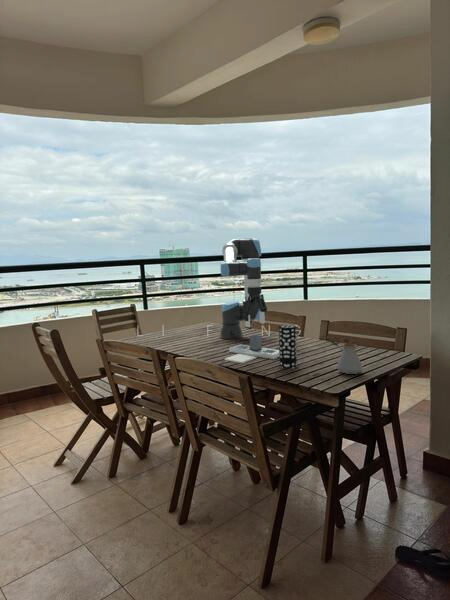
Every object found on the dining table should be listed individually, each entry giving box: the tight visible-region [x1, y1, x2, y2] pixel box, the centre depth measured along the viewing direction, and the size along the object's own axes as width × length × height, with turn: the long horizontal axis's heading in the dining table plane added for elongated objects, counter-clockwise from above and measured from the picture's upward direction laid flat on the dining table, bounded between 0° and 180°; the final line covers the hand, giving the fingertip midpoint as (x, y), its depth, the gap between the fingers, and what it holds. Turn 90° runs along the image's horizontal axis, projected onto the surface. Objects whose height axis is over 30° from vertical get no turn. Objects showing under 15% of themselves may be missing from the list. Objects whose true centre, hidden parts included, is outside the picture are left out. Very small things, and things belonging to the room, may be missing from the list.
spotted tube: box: [278, 324, 298, 369], centre depth 204 cm, size 8×8×20 cm
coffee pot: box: [323, 335, 364, 374], centre depth 195 cm, size 21×12×15 cm, turn 33°
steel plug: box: [249, 334, 263, 351], centre depth 232 cm, size 5×5×10 cm
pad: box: [224, 353, 257, 364], centre depth 222 cm, size 12×12×1 cm
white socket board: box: [228, 343, 279, 360], centre depth 232 cm, size 30×10×2 cm, turn 50°
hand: (255, 325), depth 230 cm, fingers open, 13 cm apart
